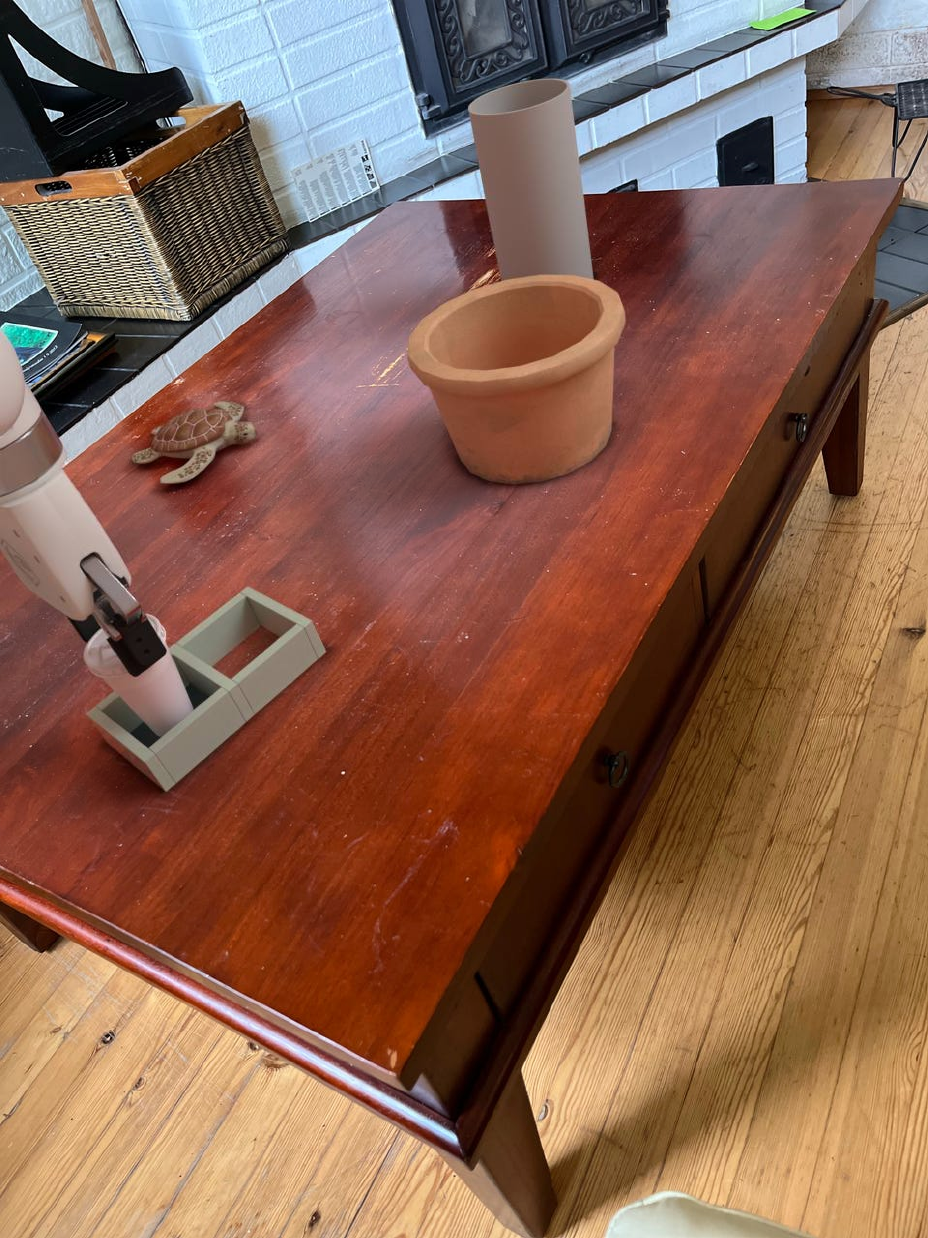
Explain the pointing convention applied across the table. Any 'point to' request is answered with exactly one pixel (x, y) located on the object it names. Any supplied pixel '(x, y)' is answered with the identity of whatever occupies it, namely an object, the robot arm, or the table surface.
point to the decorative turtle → (197, 438)
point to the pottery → (523, 373)
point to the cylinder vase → (532, 179)
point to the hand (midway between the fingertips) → (124, 646)
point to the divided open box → (213, 686)
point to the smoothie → (142, 682)
